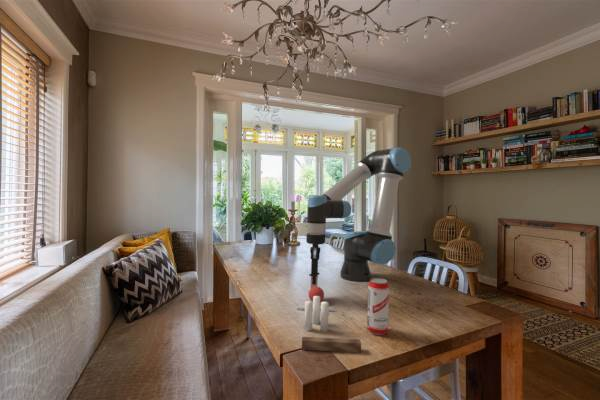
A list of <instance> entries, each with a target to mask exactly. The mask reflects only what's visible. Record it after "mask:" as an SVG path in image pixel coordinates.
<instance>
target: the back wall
mask: <svg viewBox="0 0 600 400" xmlns="http://www.w3.org/2000/svg"><path fill="white" fill-rule="evenodd" d="M301 350H302V351H321V352H322V351H324V352H344V353H362V342H361V339H359V338H335V337H311V336H302V338H301Z"/></svg>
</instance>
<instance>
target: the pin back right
mask: <svg viewBox="0 0 600 400" xmlns="http://www.w3.org/2000/svg"><path fill="white" fill-rule="evenodd" d="M329 305H330V303H329V302H328V301H320V308H321V311H320V332H323V333H325V332H328V331H329V316H330V315H329V312H330V311H329V309H330V307H329Z"/></svg>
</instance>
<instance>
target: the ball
mask: <svg viewBox="0 0 600 400" xmlns="http://www.w3.org/2000/svg"><path fill="white" fill-rule="evenodd" d="M314 296H320V302H323V300H324V297H325V294H324V290H323V288H321V287H319V286H318V285H317V286H315V287H312V288H311V287H310V289H309V290H308V298H309V301H312V302H313V297H314Z"/></svg>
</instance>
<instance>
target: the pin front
mask: <svg viewBox="0 0 600 400" xmlns="http://www.w3.org/2000/svg"><path fill="white" fill-rule="evenodd" d="M320 308H321V301H320V296H314V297H313V312H312V325H319V324H320V325H321V311H320Z"/></svg>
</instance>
